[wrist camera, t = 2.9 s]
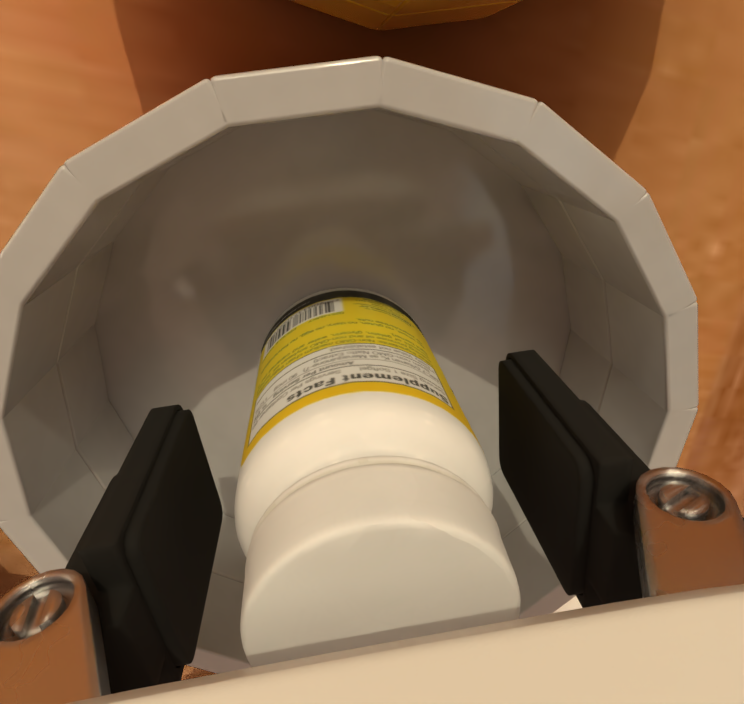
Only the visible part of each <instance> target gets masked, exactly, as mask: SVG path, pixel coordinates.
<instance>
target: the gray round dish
mask: <svg viewBox="0 0 744 704" xmlns="http://www.w3.org/2000/svg"><path fill="white" fill-rule="evenodd" d="M335 288H359V289H364V290H369V291H373V292H376V293H379V294H381V295H383V296H385V297H387V298H389V299H391V300H392V301H394V302H396V303H397V304H398V305H400V306H401V307H402V308H403V309H404V310H406V311H407V312H408V314H409V315H410V316H411V317H412V318H413V319H414V321H415V322H416V323H417V325H418V327H419V328H420V330H421V332H422V334H423V336H424V337H425V339H426V341H427V343H428V345H429V347H430V349H431V351H432V353H433V355H434V357H435V358H436V360H437V362H438V364H439V366H440V368H441V370H442V372H443V374H444V376H445V378H446V380H447V382H448V384H449V386H450V388H451V389H452V391H453V393H454V396H455V398H456V400H457V401H458V403H459V405H460V407H461V409H462V411H463V413H464V415H465V417H466V419H467V420H468V422H469V424H470V427H471V429H472V430H473V432H474V434H475V436H476V438H477V440H478V442H479V444H480V446H481V448H482V450H483V452H484V454H485V457H486V460H487V463H488V467H489V470H490V474H491V478H492V484H493V508H492V512H491V513H492V515H493V516H494V518H495V520H496V522H497V525H498V527H499V530H500V535H501V539H502V541H503V544H504V547H505V549H506V552H507V555H508V557H509V560H510V562H511V564H512V567H513V569H514V572H515V575H516V578H517V581H518V586H519V590H520V599H521V601H520V613H519V619H523V618H528V617H534V616H540V615H546V614H551V613H553V612H555V611H556V610H557V609H559V608H560V607H561V606H563V605H564V604H566V603H567V602H568V601H570V600H571V599H572V598H574V597H575V596H576V595H571V596H569V595H567V594H566V592H565V591H564V589H563V587H562V585H561V584H560V582H559V580H558V578H557V576H556V574H555V572H554V570H553V568H552V566H551V564H550V563H549V561H548V559H547V557H546V555H545V553H544V551H543V549H542V547H541V545H540V543H539V542H538V540H537V538H536V536H535V534H534V532H533V530H532V528H531V526H530V524H529V522H528V521H527V519H526V517H525V515H524V513H523V511H522V509H521V507H520V505H519V503H518V501H517V500H516V498H515V496H514V494H513V492H512V490H511V488H510V486H509V484H508V482H507V481H506V479H505V477H504V475H503V473H502V470H501V466H500V461H499V384H498V366H499V362H500V361H503V360H506V356H507V354H508V353H513V352H519V351H526V350H535V351H536V352H537V353H538V354H539V355H540V356H541V358H542V359H543V360H544V361H545V362H546V363H547V364H548V365H549V366H550V367H551V369H552V370H553V371H554V372H555V373H556V374H557V375H558V376H559V377H560V378H561V379H562V381H563V382H564V383H565V384H566V385H567V386H568V387H569V388H570V389H571V390H572V392H573V393H574V394H575V395H576V396H577V397H578V398H579V399H580V400H585V401H586V402H587V403H589V404H590V405H591V406H592V407H593V408H594V410H595V411H596V412H597V413H598V414H599V415H600V416H601V417H602V418H603V419H604V420H605V421H606V422H607V424H608V425H609V426H610V427H611V428H612V429H613V430H614V431H615V432H616V433H617V434H618V435H619V436H620V437H621V439H622V440H623V441H624V442H625V443H626V444H627V445H628V446H629V447H630V448H631V449H632V450H633V451H634V453H635V454H636V455H637V456H638V457H639V458H640V459H641V460H642V461H643V462H644V463H645V464H646V465H647V466H648V468H649V469H650V470H651V469H656V468H661V467H676V466H677V463H678V461H679V458H680V455H681V453H682V450H683V448H684V445H685V442H686V440H687V437H688V435H689V432H690V429H691V427H692V424H693V422H694V419H695V416H696V414H697V411H698V408H697V406H698V304H697V302H696V301H697V297H696V295H695V293H694V291H693V288H692V286H691V284H690V282H689V280H688V278H687V275H686V273H685V271H684V269H683V267H682V264H681V262H680V260H679V258H678V256H677V254H676V251H675V249H674V247H673V245H672V243H671V240H670V238H669V236H668V234H667V232H666V230H665V227H664V225H663V223H662V221H661V219H660V216H659V214H658V212H657V210H656V208H655V206H654V203H653V201H652V199H651V197H650V195H649V193H647V191H646V189H645V188H644V187H643V186H642V185H641V184H639V183H638V182H637V181H636V180H635V179H633V178H632V177H631V176H630V175H629V174H628V173H626V172H625V171H624V170H623V169H622V168H620V167H619V166H618V165H617V164H616V163H615V162H613V161H612V160H611V159H610V158H609V157H607V156H606V155H605V154H604V153H603V152H601V151H600V150H599V149H598V148H597V147H596V146H594V145H593V144H592V143H591V142H590V141H588V140H587V139H586V138H585V137H584V136H583V135H581V134H580V133H579V132H578V131H577V130H575V129H574V128H573V127H572V126H571V125H569V124H568V123H567V122H566V121H565V120H564V119H562V118H561V117H560V116H559V115H558V114H556V113H555V112H554V111H553V110H552V109H551V108H549V107H548V106H547V105H546V104H545V103H543V102H538V101H537V100H536V99H535V98H532V97H529V96H525V95H522V94H518V93H515V92H511V91H508V90H504V89H501V88H497V87H494V86H490V85H487V84H483V83H480V82H476V81H473V80H469V79H466V78H462V77H459V76H455V75H452V74H448V73H445V72H441V71H438V70H434V69H431V68H427V67H424V66H420V65H417V64H413V63H410V62H406V61H403V60H399V59H396V58H392V57H389V56H388V57H383V58H381V57H380V56H369V57H361V58H353V59H345V60H337V61H329V62H321V63H313V64H305V65H297V66H289V67H281V68H273V69H265V70H257V71H249V72H241V73H233V74H224V75H216V76H213V77H212V78H211V79H203V80H201V81H200V82H198V83H196V84H195V85H193V86H191V87H189V88H188V89H186V90H184V91H183V92H181V93H179V94H178V95H176V96H174V97H172V98H171V99H169V100H167V101H166V102H164V103H162V104H161V105H159V106H157V107H155V108H154V109H152V110H150V111H149V112H147V113H145V114H143V115H142V116H140V117H138V118H137V119H135V120H133V121H132V122H130V123H128V124H126V125H125V126H123V127H121V128H120V129H118V130H116V131H115V132H113V133H111V134H109V135H108V136H106V137H104V138H103V139H101V140H99V141H97V142H96V143H94V144H92V145H91V146H89V147H87V148H86V149H84V150H82V151H80V152H79V153H77V154H75V155H74V156H72V157H70V158H68V159H67V160H66V161H65V163H64V165H62V166H60V167H59V168H58V170H57V171H56V173H55V174H54V176H53V177H52V178H51V180H50V181H49V183H48V184H47V186H46V187H45V189H44V190H43V192H42V193H41V194H40V196H39V197H38V199H37V200H36V202H35V203H34V205H33V206H32V207H31V209H30V210H29V212H28V213H27V215H26V216H25V218H24V219H23V221H22V222H21V223H20V225H19V226H18V228H17V229H16V231H15V232H14V234H13V235H12V236H11V238H10V239H9V241H8V242H7V244H6V245H5V247H4V248H3V250H2V251H1V252H0V528H1V529H2V531H3V532H4V533H5V534H6V535H7V536H8V537H9V539H10V540H11V541H12V542H13V543H14V544H15V546H16V547H17V548H18V549H19V550H20V551H21V553H22V554H23V555H24V556H25V557H26V558H27V560H28V561H29V562H30V563H31V564H32V565H33V567H34V568H35V569H36V570H37V571H38V572H39V574H41V573H44V572H46V571H49V570H56V569H65V567H66V565H67V563H68V562H69V560H70V558H71V556H72V554H73V552H74V550H75V548H76V546H77V544H78V542H79V540H80V539H81V537H82V535H83V533H84V531H85V529H86V527H87V525H88V523H89V521H90V519H91V517H92V516H93V514H94V512H95V510H96V508H97V506H98V504H99V502H100V500H101V498H102V496H103V494H104V493H105V491H106V489H107V487H108V485H109V483H110V481H111V480H112V478H113V477H114V476H115V475H117V474H118V472H119V470H120V468H121V466H122V464H123V462H124V460H125V458H126V456H127V454H128V452H129V450H130V449H131V447H132V445H133V443H134V441H135V439H136V437H137V435H138V433H139V431H140V429H141V427H142V425H143V423H144V421H145V419H146V417H147V415H148V413H149V411H150V410H151V409H152V408H158V407H164V406H171V405H177V404H179V405H181V407H182V408H183V410H188V409H189V410H191V412H192V414H193V416H194V419H195V422H196V426H197V429H198V432H199V435H200V438H201V441H202V444H203V448H204V451H205V454H206V457H207V460H208V463H209V466H210V470H211V473H212V476H213V479H214V482H215V485H216V488H217V491H218V495H219V498H220V501H221V505H222V512H223V518H222V524H221V529H220V534H219V539H218V544H217V549H216V554H215V558H214V563H213V568H212V573H211V578H210V583H209V588H208V593H207V597H206V602H205V607H204V612H203V617H202V622H201V627H200V632H199V636H198V641H197V646H196V651H195V656H194V659H193V661H192V663H190V664H186V665H188V666H191V667H195V668H199V669H202V670H206V671H209V672H213V673H217V674H219V673H224V672H230V671H235V670H240V669H246V668H251V665H250V663H249V661H248V659H247V657H246V654H245V652H244V649H243V645H242V640H241V633H240V619H241V608H242V598H243V589H244V579H245V565H246V556H245V555H244V553H243V550H242V548H241V546H240V543H239V540H238V537H237V532H236V528H235V515H234V504H235V494H236V488H237V482H238V477H239V471H240V466H241V460H242V455H243V449H244V444H245V438H246V432H247V426H248V421H249V416H250V411H251V404H252V398H253V393H254V387H255V381H256V376H257V370H258V364H259V358H260V352H261V349H262V345H263V342H264V340H265V338H266V335H267V333H268V331H269V330H270V328H271V327H272V325H273V324H274V322H275V321H276V320H277V318H278V317H279V316H280V315H281V314H282V313H283V312H284V311H285V310H286V309H288V308H289V307H290V306H291V305H293V304H294V303H296V302H297V301H299V300H300V299H302V298H304V297H306V296H308V295H311V294H313V293H316V292H319V291H323V290H328V289H335Z"/></svg>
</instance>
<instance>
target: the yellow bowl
mask: <svg viewBox="0 0 744 704" xmlns="http://www.w3.org/2000/svg"><path fill="white" fill-rule="evenodd" d="M290 1H292V2H295V3H298V4H301V5H304V6H307V7H310V8H312V9H315V10H318V11H321V12H324V13H327V14H330V15H333V16H335V17H338V18H341V19H344V20H347V21H350V22H353V23H355V24H358V25H361V26H364V27H367V28H370V29H373V30H376V29H377V28H378V30H381V31H382V30H390V29H398V28H406V27H415V26H423V25H431V24H439V23H447V22H455V21H464V20H472V19H480V18H485V17H487V16H491V15H493V14H495V13H497V12H499V11H501V10H503V9H505V8H507V7H510V6H512V5H514V4H516V3H518V2H520V1H522V0H290Z"/></svg>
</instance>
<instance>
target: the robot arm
mask: <svg viewBox="0 0 744 704" xmlns="http://www.w3.org/2000/svg"><path fill="white" fill-rule="evenodd" d="M498 384H499V461H500V466H501V470H502V473H503V475H504V477H505V479H506V481H507V482H508V484H509V486H510V488H511V490H512V492H513V494H514V496H515V498H516V500H517V501H518V503H519V505H520V507H521V509H522V511H523V513H524V515H525V517H526V519H527V521H528V522H529V524H530V526H531V528H532V530H533V532H534V534H535V536H536V538H537V540H538V542H539V543H540V545H541V547H542V549H543V551H544V553H545V555H546V557H547V559H548V561H549V563H550V564H551V566H552V568H553V570H554V572H555V574H556V576H557V578H558V580H559V582H560V584H561V585H562V587H563V589H564V591H565V592H566V594H567V595H569V596H571V595H576V597H577V599H578V600H579V602H580V604H581V606H582V608H580V609H574V610H568V611H563V612H557V613H551V614H546V615H540V616H534V617H528V618H523V619H517V620H511V621H505V622H500V623H494V624H488V625H483V626H477V627H471V628H466V629H460V630H454V631H449V632H443V633H438V634H432V635H427V636H421V637H415V638H410V639H404V640H399V641H393V642H388V643H382V644H377V645H371V646H366V647H360V648H355V649H349V650H344V651H338V652H333V653H327V654H322V655H316V656H311V657H305V658H300V659H294V660H289V661H283V662H278V663H272V664H267V665H262V666H256V667H251V668H246V669H240V670H235V671H230V672H224V673H219V674H214V675H208V676H203V677H197V678H192V679H187V680H181V677H182V673H183V668H184V665H186V664H190V663H192V661H193V659H194V656H195V651H196V646H197V641H198V636H199V632H200V627H201V622H202V617H203V612H204V607H205V602H206V597H207V593H208V588H209V583H210V578H211V573H212V568H213V563H214V558H215V554H216V549H217V544H218V539H219V534H220V529H221V524H222V518H223V512H222V505H221V501H220V498H219V495H218V491H217V488H216V485H215V482H214V479H213V476H212V473H211V470H210V466H209V463H208V460H207V457H206V454H205V451H204V448H203V444H202V441H201V438H200V435H199V432H198V429H197V426H196V422H195V419H194V416H193V414H192V412H191V410H189V409H188V410H183V408H182V407H181V405H179V404H177V405H171V406H164V407H158V408H152V409H151V410H150V411H149V413H148V415H147V417H146V419H145V421H144V423H143V425H142V427H141V429H140V431H139V433H138V435H137V437H136V439H135V441H134V443H133V445H132V447H131V449H130V450H129V452H128V454H127V456H126V458H125V460H124V462H123V464H122V466H121V468H120V470H119V472H118V474H117V475H115V476H114V477H113V478H112V480H111V481H110V483H109V485H108V487H107V489H106V491H105V493H104V494H103V496H102V498H101V500H100V502H99V504H98V506H97V508H96V510H95V512H94V514H93V516H92V517H91V519H90V521H89V523H88V525H87V527H86V529H85V531H84V533H83V535H82V537H81V539H80V540H79V542H78V544H77V546H76V548H75V550H74V552H73V554H72V556H71V558H70V560H69V562H68V563H67V565H66V567H65V569H56V570H49V571H46V572H44V573H41V574H38V575H35V576H33V577H31V578H29V579H27V580H26V581H24V582H22V583H20V584H18V585H17V586H16V587H14V588H13V589H12V590H10V591H9V592H8V593H6V594H5V595H4V596H3V597H2V598H1V599H0V704H744V518H743V517H742V515H741V513H740V510H739V507H738V505H737V502H736V500H735V499H734V497H733V496H732V494H731V492H730V491H729V490H727V489H726V488H725V487H724V486H723V485H722V484H721V483H719V482H717V481H716V480H714V479H712V478H710V477H709V476H707V475H704V474H701V473H699V472H696V471H693V470H689V469H683V468H678V467H661V468H656V469H651V470H650V469H649V468H648V466H647V465H646V464H645V463H644V462H643V461H642V460H641V459H640V458H639V457H638V456H637V455H636V454H635V453H634V451H633V450H632V449H631V448H630V447H629V446H628V445H627V444H626V443H625V442H624V441H623V440H622V439H621V437H620V436H619V435H618V434H617V433H616V432H615V431H614V430H613V429H612V428H611V427H610V426H609V425H608V424H607V422H606V421H605V420H604V419H603V418H602V417H601V416H600V415H599V414H598V413H597V412H596V411H595V410H594V408H593V407H592V406H591V405H590V404H589V403H587V402H586V401H585V400H580V399H579V398H578V397H577V396H576V395H575V394H574V393H573V392H572V390H571V389H570V388H569V387H568V386H567V385H566V384H565V383H564V382H563V381H562V379H561V378H560V377H559V376H558V375H557V374H556V373H555V372H554V371H553V370H552V369H551V367H550V366H549V365H548V364H547V363H546V362H545V361H544V360H543V359H542V358H541V356H540V355H539V354H538V353H537V352H536V351H535V350H526V351H519V352H513V353H508V354H507V356H506V360H503V361H500V362H499V366H498Z"/></svg>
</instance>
